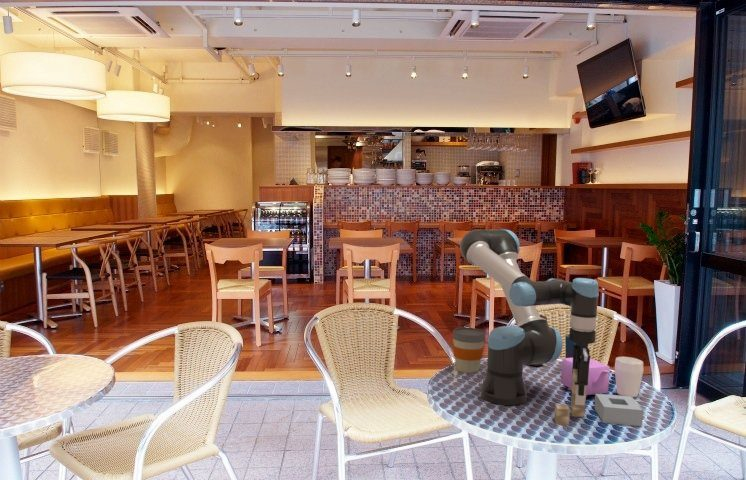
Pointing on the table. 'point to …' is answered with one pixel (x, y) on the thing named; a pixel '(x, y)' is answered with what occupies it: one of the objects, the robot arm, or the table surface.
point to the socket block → (618, 409)
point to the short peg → (562, 414)
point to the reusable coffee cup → (468, 348)
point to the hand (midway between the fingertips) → (578, 401)
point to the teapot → (596, 377)
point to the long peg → (575, 409)
